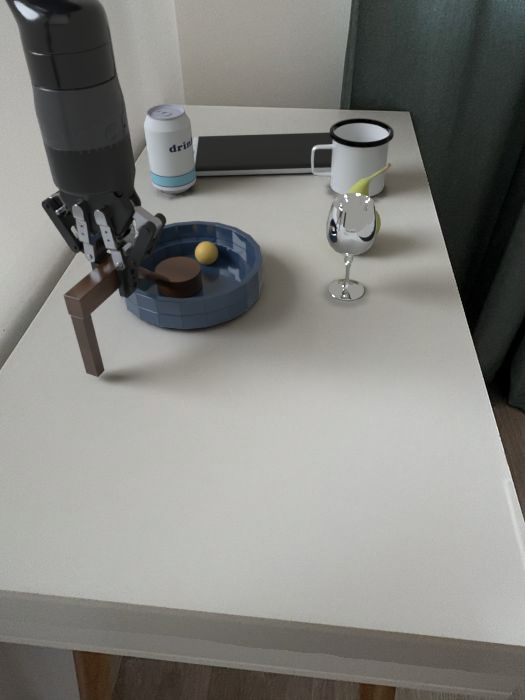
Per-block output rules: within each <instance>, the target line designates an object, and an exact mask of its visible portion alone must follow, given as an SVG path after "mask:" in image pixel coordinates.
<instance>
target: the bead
mask: <svg viewBox="0 0 525 700" xmlns="http://www.w3.org/2000/svg"><path fill="white" fill-rule="evenodd" d="M195 256H196V259H197V260H198V261H199V262H200V263H201V264H204V265H209V264H212V263H214V262H215V261H216V259H217V257H218V249H217V247H216V246H215V245H214V244H213V243H211V242H208V241H205V242H202V243H200V244H199V245H198V246H197V247H196V250H195Z"/></svg>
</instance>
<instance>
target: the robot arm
mask: <svg viewBox="0 0 525 700" xmlns="http://www.w3.org/2000/svg"><path fill="white" fill-rule="evenodd" d="M4 1H5V3H6V5H7V6H8V8H9V10H10V12H11V15H12V17H13V18H14V20H15V22H16V26H17V28H18V32H19V38H20V43H21V47H22V51H23V54H24V57H25V58H24V59H25V62H26V66H27V70H28V74H29V78H30V79H29V80H30V83H31V88H32V95H33V105H34V110H35V111H34V112H35V116H36V119H37V122H38V127H39V130H40V135H41V138H42V144H43V147H44V151H45V155H46V159H47V162H48V166H49V170H50V171H49V172H50V174H51V178H52V179H51V180H52V182H53V184H54V185H55V187H56V188H58V190H57V191H56V192H54V193H52V194H50V195H49V196H48V197H47V198H45V199H43V200H42V201H41V207H42V209H43V210H44V212H45V213H46V215H47V216H48V218H49V219H50V221H51V222H52V223H53V225H54V227H55V228H56V230H57V231H58V233H59V234H60V235H61V237H62V238H63V240H64V241H65V243H66V244H67V246H68V247H69V249H70V250H71V252H73V253H75V254H79V253H82V254H84V257H85V259H86V260H87V261H88V262H90V266H91V271H92V270H94V269H95V268H96V267H97V266H98V265H100V264H101V263H102V262H103V261H104V260H105V259H107V258H108V257H109V256H110V255H112V258H113V262H114V265H115V267H116V268H114V269H115V273H116V278H117V283H118V289H117V290H118V294H119V296H120V298H121V297H125V298H128V297H129V296H131V295H132V294H133V293H134V292H135V291H136V289H137V288H138V287H139V284H140V283H139V277H138V271H137V268H138V267H139V266H140V265H141V264H142V263H143V262H145V261H146V260H147V259H148V258H149V257H150V256H151V255H152V253H153V250H154V248H155V246H156V244H157V242H158V239H159V237H160V235H161V233H162V230H163V228H164V226H165V225H167V218H166V216H165V215H164V214H163V213H161V212H157V213H156V214H154V215H153V214H152V213H151V212H149V211H148V210H147V209H145V208H144V207H142V200H141V198H140V196H139V194H138V193H137V191H136V188H135V180H136V173H137V169H136V164H135V156H134V152H133V145H132V139H131V132H130V131H131V130H130V126H129V119H128V114H127V107H126V102H125V96H124V92H123V90H122V89H123V88H122V87H121V83H120V79H119V74H118V69H117V63H116V56H115V50H114V45H113V39H112V32H111V28H110V27H111V26H110V22H109V19H108V18H109V17H108V14H107V11H106V9H105V7H104V5H103V4H102V2H101V1H100V0H4ZM134 221H135V225H134ZM72 227H73V228H74V230H75V231H76V232H77V236H78V237H77V236H76V235H75V233H74V231H72ZM136 235H137V236H138V237H137V236H136ZM136 237H137V239H136V242H134V238H136ZM123 248H124V251H125V252H123ZM108 251H110V252H108Z"/></svg>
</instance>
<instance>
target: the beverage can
mask: <svg viewBox="0 0 525 700" xmlns="http://www.w3.org/2000/svg"><path fill="white" fill-rule="evenodd" d="M143 130H144V137H145V143H146V149H147V157H148V163H149V164H148V165H149V171H150V177H151V183H152V185H153V187H154V188H156V190H160V191H161V192H162V193H165V194H170V195H178V194H182V193H184V192H186V191H188V190H189V189H190V188H191V187H192V186H194V185H195V183H196V181H197V176H196V173H195V162H194V152H193V133H192V122H191V119H190V117H189V116H188V114H187V113H186V109H185V107H183V106H181V105H179V104H175V103H174V104H173V103H164V104H157V105H154V106H152V107H149V108H148V109H147V111H146V116H145V120H144V122H143Z"/></svg>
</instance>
